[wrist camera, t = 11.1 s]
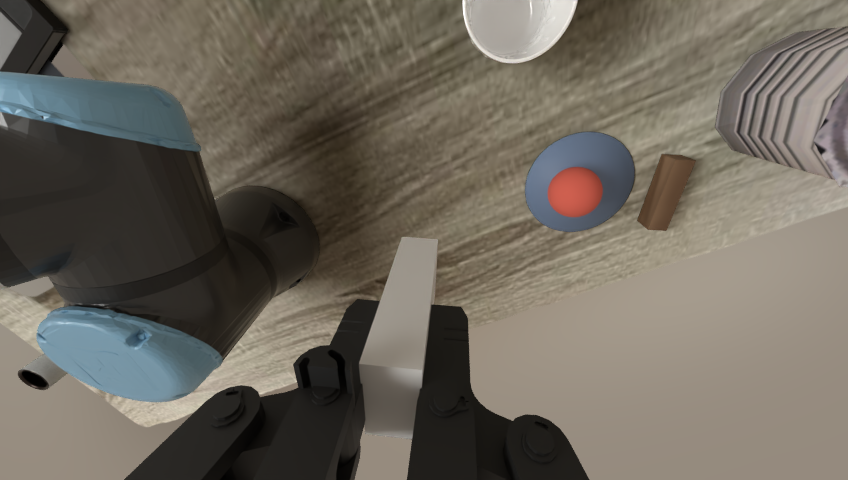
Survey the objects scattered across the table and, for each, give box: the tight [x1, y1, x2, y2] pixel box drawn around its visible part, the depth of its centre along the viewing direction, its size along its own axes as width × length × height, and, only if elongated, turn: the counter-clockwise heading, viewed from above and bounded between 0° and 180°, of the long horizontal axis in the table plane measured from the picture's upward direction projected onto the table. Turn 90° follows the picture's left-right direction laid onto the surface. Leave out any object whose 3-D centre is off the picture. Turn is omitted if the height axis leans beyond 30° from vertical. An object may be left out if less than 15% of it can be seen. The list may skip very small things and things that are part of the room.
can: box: [715, 27, 848, 187], centre depth 27 cm, size 11×11×12 cm
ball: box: [548, 167, 603, 217], centre depth 35 cm, size 6×6×6 cm
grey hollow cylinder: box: [18, 353, 68, 390], centre depth 53 cm, size 4×4×10 cm
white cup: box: [463, 0, 578, 63], centre depth 27 cm, size 8×8×10 cm
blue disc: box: [525, 132, 634, 232], centre depth 38 cm, size 12×12×1 cm
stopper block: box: [637, 154, 696, 231], centre depth 36 cm, size 2×8×2 cm, turn 178°
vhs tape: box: [0, 0, 68, 75], centre depth 36 cm, size 8×14×2 cm, turn 125°
